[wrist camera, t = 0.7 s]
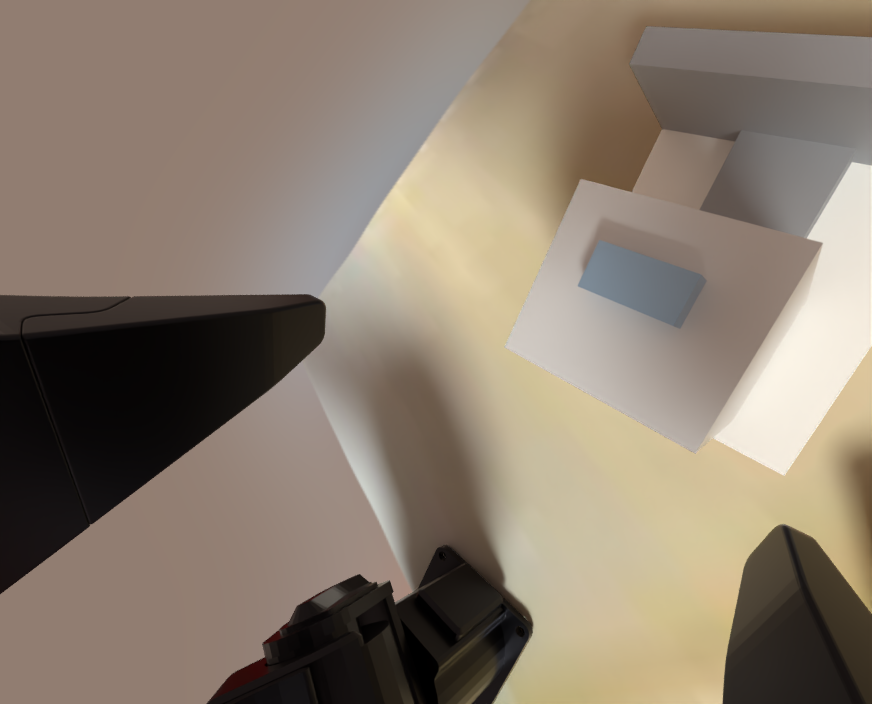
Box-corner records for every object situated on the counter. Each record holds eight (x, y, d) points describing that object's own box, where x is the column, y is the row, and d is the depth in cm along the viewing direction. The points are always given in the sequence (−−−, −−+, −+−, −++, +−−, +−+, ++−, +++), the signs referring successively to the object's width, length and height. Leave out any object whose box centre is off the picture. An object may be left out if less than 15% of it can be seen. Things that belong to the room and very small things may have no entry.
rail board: (784, 472, 17) (783, 509, 13) (559, 354, 23) (500, 349, 18) (996, 155, 14) (1099, 48, 10) (679, 108, 20) (646, 26, 15)
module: (732, 420, 18) (689, 459, 10) (603, 356, 21) (490, 346, 13) (807, 300, 16) (826, 232, 8) (657, 250, 19) (569, 168, 12)
